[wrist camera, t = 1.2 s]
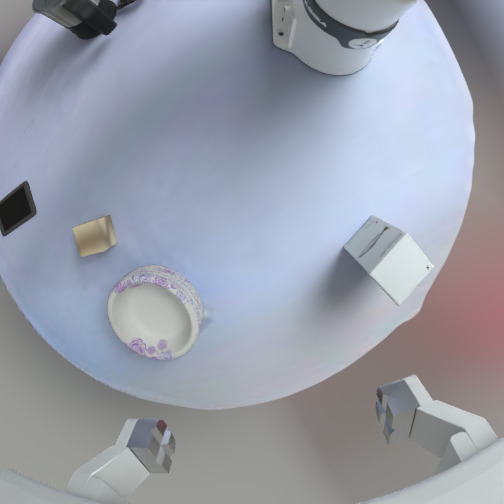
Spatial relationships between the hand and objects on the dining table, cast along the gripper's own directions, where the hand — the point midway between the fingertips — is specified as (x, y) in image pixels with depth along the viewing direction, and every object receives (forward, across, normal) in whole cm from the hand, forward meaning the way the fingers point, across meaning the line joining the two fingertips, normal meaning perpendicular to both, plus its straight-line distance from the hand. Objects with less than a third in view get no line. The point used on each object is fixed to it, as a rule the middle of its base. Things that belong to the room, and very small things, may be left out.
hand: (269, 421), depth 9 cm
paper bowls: (+37, +19, +9) cm, 43 cm away
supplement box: (+37, -17, +7) cm, 41 cm away
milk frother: (+37, +17, -47) cm, 62 cm away
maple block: (+37, +27, -5) cm, 46 cm away
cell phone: (+38, +48, -16) cm, 63 cm away
